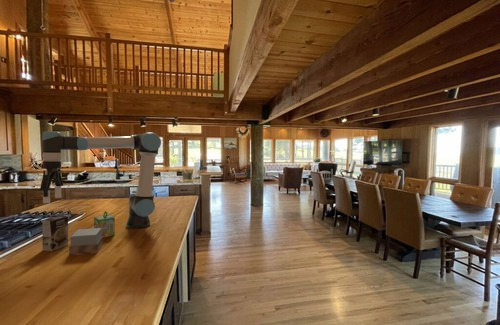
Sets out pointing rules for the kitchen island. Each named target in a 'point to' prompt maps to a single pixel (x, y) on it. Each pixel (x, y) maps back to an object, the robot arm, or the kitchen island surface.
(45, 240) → the coffee box
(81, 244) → the grey flat block
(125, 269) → the kitchen island surface
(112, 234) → the chalk box
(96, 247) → the tower base
